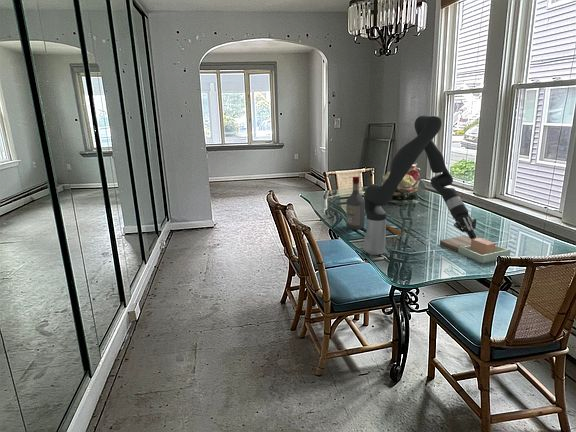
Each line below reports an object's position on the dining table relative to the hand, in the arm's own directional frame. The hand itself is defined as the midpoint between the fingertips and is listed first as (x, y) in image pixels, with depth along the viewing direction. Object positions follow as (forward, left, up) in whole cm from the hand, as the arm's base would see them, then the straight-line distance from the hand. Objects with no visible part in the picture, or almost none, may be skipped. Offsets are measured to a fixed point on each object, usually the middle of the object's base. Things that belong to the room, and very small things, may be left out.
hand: (473, 238), depth 181 cm
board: (0, +7, -6) cm, 10 cm away
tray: (0, -6, -6) cm, 9 cm away
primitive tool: (-15, +45, -7) cm, 48 cm away
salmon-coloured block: (0, -1, -3) cm, 3 cm away
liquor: (-31, +57, -7) cm, 65 cm away
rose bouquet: (+32, +96, -7) cm, 101 cm away
